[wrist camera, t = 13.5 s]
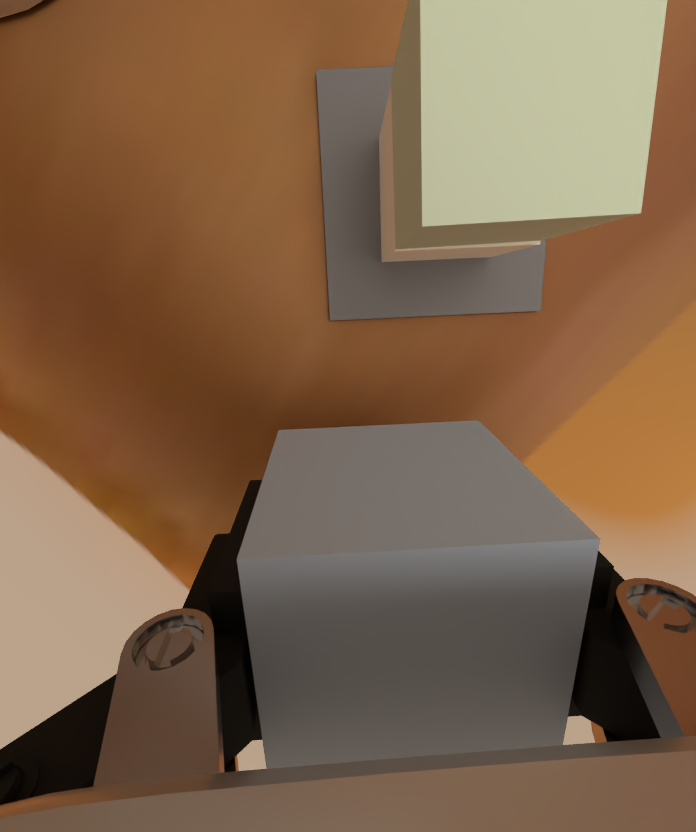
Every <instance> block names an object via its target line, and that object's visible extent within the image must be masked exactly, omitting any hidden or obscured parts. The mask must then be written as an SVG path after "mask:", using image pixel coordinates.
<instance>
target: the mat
mask: <svg viewBox="0 0 696 832" xmlns="http://www.w3.org/2000/svg"><path fill="white" fill-rule="evenodd" d="M392 70H393V66H388V67H366V68H344V69H322V70H316V77H317V95H318V113H319V131H320V150H321V168H322V186H323V204H324V222H325V240H326V259H327V277H328V295H329V313H330V321H331V320H352V319H374V318H395V317H417V316H439V315H460V314H482V313H503V312H525V311H541V300H542V288H543V275H544V263H545V250H546V239H545V240H542V241H541V242H540V245H536V246H532V247H528V248H525V249H521V250H517V251H513V252H509V253H505V254H501V255H497V256H493V257H483V258H461V259H439V260H418V261H396V262H382V260H381V213H380V165H379V135H380V130H381V126H382V122H383V118H384V113H385V109H386V105H387V101H388V96H389V92H390V88H391V75H392Z"/></svg>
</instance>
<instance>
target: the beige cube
mask: <svg viewBox="0 0 696 832" xmlns="http://www.w3.org/2000/svg"><path fill="white" fill-rule="evenodd" d="M379 165H380V213H381V260H382V262H396V261H418V260H439V259H461V258H483V257H493V256H497V255H501V254H505V253H509V252H513V251H517V250H521V249H525V248H528V247H532V246H536V245H540V242H541V241H527V242H511V243H494V244H478V245H461V246H445V247H428V248H412V249H395V217H394V177H393V137H392V98H391V88H390V92H389V96H388V101H387V105H386V109H385V113H384V118H383V122H382V126H381V130H380V135H379Z"/></svg>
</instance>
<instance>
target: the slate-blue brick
mask: <svg viewBox="0 0 696 832" xmlns="http://www.w3.org/2000/svg"><path fill="white" fill-rule="evenodd" d="M599 543H600V538H599V537H598V536H597V535H596V534H595V533H594V532H592V531H591V529H589V528H588V527H587V526H586V525H585V524H584V523H583V522H582V521H581V520H580V519H579V518H578V517H577V516H576V515H575V514H574V513H573V512H572V511H571V510H570V509H569V508H568V507H567V506H566V505H565V504H564V503H563V502H562V501H561V500H560V499H559V498H558V497H556V495H555V494H554V493H553V492H551V491H550V490H549V489H548V488H547V487H546V486H545V485H544V484H543V483H542V482H541V481H540V480H539V479H538V478H537V477H536V476H535V475H534V474H533V473H532V472H531V471H530V470H529V469H528V468H527V467H526V466H525V465H524V464H523V463H522V462H521V461H520V460H519V459H518V458H517V457H516V456H515V455H514V454H512V453H511V452H510V451H509V450H508V449H507V448H506V447H505V446H504V445H503V444H502V443H501V442H500V441H499V440H498V439H497V438H496V437H495V436H494V435H493V434H492V433H491V432H490V431H489V430H488V429H487V428H486V427H485V426H484V425H483V424H482V423H481V422H480V421H479V420H476V421H455V422H434V423H414V424H393V425H373V426H352V427H331V428H311V429H290V430H278V433H277V437H276V440H275V443H274V446H273V449H272V452H271V455H270V458H269V461H268V464H267V467H266V471H265V474H264V477H263V480H262V483H261V486H260V489H259V492H258V495H257V498H256V502H255V505H254V508H253V511H252V514H251V517H250V520H249V523H248V526H247V529H246V532H245V536H244V539H243V542H242V545H241V548H240V551H239V554H238V557H237V566H238V573H239V579H240V586H241V593H242V600H243V607H244V614H245V621H246V628H247V635H248V642H249V649H250V656H251V663H252V670H253V677H254V684H255V691H256V698H257V705H258V712H259V719H260V726H261V733H262V740H263V747H264V753H265V760H266V766H267V769H272V768H284V767H295V766H307V765H319V764H331V763H343V762H355V761H367V760H379V759H392V758H404V757H417V756H430V755H443V754H455V753H468V752H481V751H494V750H507V749H520V748H533V747H547V746H560V745H563V740H564V734H565V729H566V723H567V718H568V712H569V707H570V702H571V696H572V691H573V685H574V680H575V674H576V669H577V663H578V658H579V652H580V647H581V641H582V636H583V631H584V625H585V620H586V614H587V609H588V603H589V598H590V592H591V587H592V581H593V576H594V570H595V565H596V560H597V554H598V549H599Z"/></svg>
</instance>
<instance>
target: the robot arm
mask: <svg viewBox="0 0 696 832" xmlns="http://www.w3.org/2000/svg"><path fill="white" fill-rule="evenodd" d="M41 1H43V0H0V18H2V17H5V16H9V15H12V14H15V13H19V12H22V11H25V10H28V9H30V8H31V7H33V6H35V5H36V4H38V3H40V2H41ZM261 483H262V480H251V481H250V482H249V485H248V487H247V490H246V492H245V495H244V498H243V500H242V503H241V505H240V508H239V511H238V513H237V516H236V518H235V521H234V524H233V526H232V529H231V531H230V533H228V534H217V535H215V536H214V538H213V540H212V542H211V544H210V547H209V549H208V551H207V553H206V556H205V558H204V560H203V563H202V565H201V567H200V569H199V572H198V574H197V576H196V578H195V581H194V583H193V585H192V588H191V590H190V592H189V594H188V597H187V599H186V601H185V603H184V606H183V608H182V609H176V610H170V611H168V612H165V613H162V614H159V615H157V616H155V617H154V618H152V619H150V620H148V621H146V622H145V623H144V624H143V625H141V626H140V627H139V628H138V629H137V630H135V631H134V632H133V634H132V635H131V636H130V638H129V639H128V640H127V642H126V643H125V645H124V648H123V651H122V653H121V656H120V662H119V666H118V671H117V674H116V675H114V676H113V677H111V678H110V679H108V680H107V681H105V682H103V683H102V684H100V685H99V686H97V687H96V688H94V689H93V690H91V691H90V692H88V693H87V694H85V695H84V696H82V697H80V698H79V699H77V700H76V701H74V702H73V703H71V704H70V705H68V706H66V707H65V708H63V709H62V710H61V711H59V712H57V713H56V714H54V715H53V716H51V717H50V718H48V719H47V720H45V721H43V722H42V723H40V724H39V725H37V726H36V727H34V728H33V729H31V730H30V731H28V732H26V733H25V734H23V735H22V736H20V737H19V738H17V739H16V740H14V741H13V742H11V743H10V744H8V745H6V746H5V747H3V748H2V749H0V832H696V597H695V596H694V595H693V594H691V593H689V592H687V591H685V590H683V589H681V588H679V587H677V586H674V585H671V584H668V583H666V582H663V581H658V580H653V579H648V578H634V579H629V580H624V579H623V578H622V577H621V576H620V575H619V574H618V573H617V572H616V571H615V570H614V569H613V568H614V566H613V565H612V564H611V563H610V562H609V561H608V560H607V559H606V558H605V557H604V556H603V555H602V554H601V553H600V552H599V551H598V554H597V560H596V565H595V570H594V576H593V581H592V587H591V592H590V598H589V603H588V609H587V614H586V620H585V625H584V631H583V636H582V641H581V647H580V652H579V658H578V663H577V669H576V674H575V680H574V685H573V691H572V696H571V702H570V707H569V712H568V716H580V715H582V716H584V717H585V718H587V719H589V720H590V721H591V726H592V732H593V735H594V739H595V742H596V743H587V744H573V745H560V746H547V747H533V748H520V749H507V750H494V751H481V752H468V753H455V754H443V755H430V756H417V757H404V758H392V759H379V760H367V761H355V762H343V763H331V764H319V765H307V766H295V767H284V768H272V769H261V770H248V771H238V760H237V754H238V753H239V752H240V751H241V750H242V749H243V748H244V747H246V746H247V745H248V744H249V743H250V742H251V741H252V740H262V733H261V726H260V719H259V712H258V705H257V698H256V691H255V684H254V677H253V670H252V663H251V656H250V649H249V642H248V635H247V628H246V621H245V614H244V607H243V600H242V593H241V586H240V579H239V573H238V566H237V557H238V554H239V551H240V548H241V545H242V542H243V539H244V536H245V532H246V529H247V526H248V523H249V520H250V517H251V514H252V511H253V508H254V505H255V502H256V498H257V495H258V492H259V489H260V486H261Z"/></svg>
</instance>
